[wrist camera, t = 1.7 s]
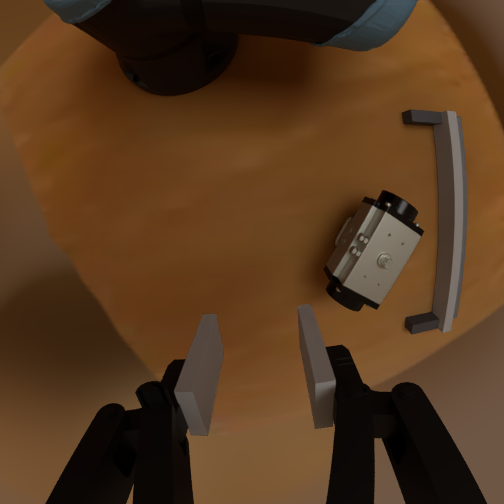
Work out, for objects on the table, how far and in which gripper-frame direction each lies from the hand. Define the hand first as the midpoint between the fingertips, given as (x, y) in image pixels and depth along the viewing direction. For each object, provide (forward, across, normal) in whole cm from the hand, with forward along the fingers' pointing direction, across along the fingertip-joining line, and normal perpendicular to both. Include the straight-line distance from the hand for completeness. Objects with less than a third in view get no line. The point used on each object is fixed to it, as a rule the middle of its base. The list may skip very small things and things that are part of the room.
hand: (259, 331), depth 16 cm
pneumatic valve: (+21, +11, 0) cm, 24 cm away
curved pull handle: (+21, +26, 0) cm, 33 cm away
